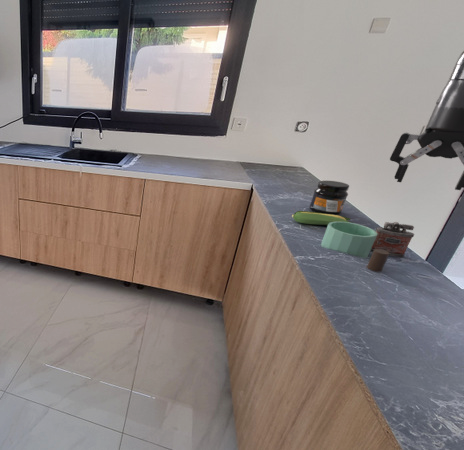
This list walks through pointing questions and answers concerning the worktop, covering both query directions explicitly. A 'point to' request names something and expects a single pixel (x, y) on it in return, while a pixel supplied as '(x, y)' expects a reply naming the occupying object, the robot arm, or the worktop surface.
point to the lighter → (393, 238)
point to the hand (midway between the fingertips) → (426, 185)
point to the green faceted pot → (349, 238)
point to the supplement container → (329, 197)
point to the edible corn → (317, 218)
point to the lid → (377, 260)
